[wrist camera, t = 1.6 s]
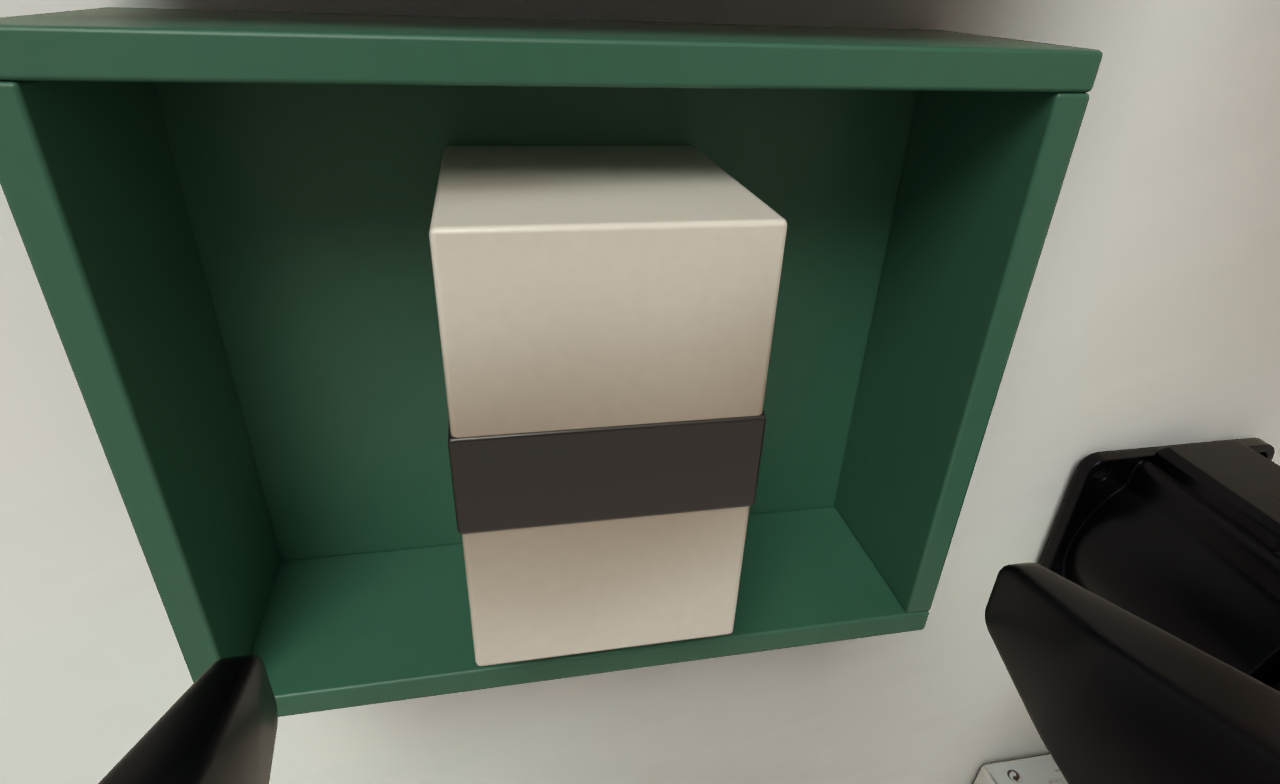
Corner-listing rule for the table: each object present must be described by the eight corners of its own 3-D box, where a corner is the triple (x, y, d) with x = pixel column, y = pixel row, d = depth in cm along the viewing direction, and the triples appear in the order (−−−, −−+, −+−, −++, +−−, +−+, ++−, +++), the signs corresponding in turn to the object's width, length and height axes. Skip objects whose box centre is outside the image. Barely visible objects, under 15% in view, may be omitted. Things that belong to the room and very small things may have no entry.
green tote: (842, 509, 21) (924, 630, 17) (265, 567, 18) (209, 727, 14) (943, 30, 15) (1106, 50, 11) (106, 6, 12) (-66, 23, 8)
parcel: (673, 474, 18) (737, 637, 14) (473, 491, 18) (472, 672, 13) (696, 143, 15) (795, 220, 10) (440, 144, 14) (423, 229, 9)
